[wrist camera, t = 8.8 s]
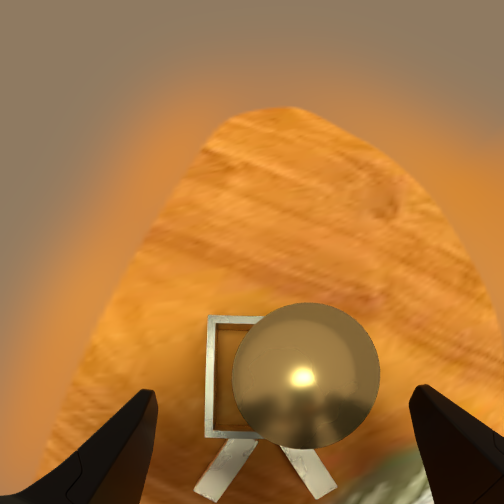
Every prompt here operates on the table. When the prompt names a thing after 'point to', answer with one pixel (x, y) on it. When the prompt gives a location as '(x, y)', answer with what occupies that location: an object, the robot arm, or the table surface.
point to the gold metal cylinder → (305, 376)
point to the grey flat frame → (245, 430)
